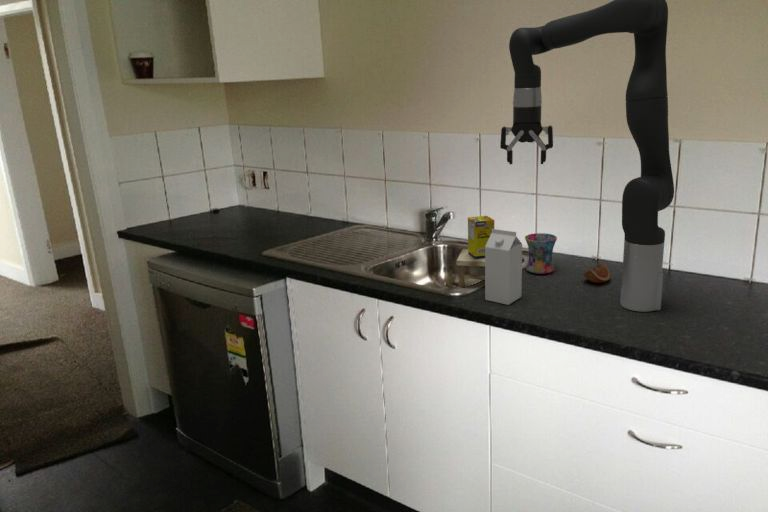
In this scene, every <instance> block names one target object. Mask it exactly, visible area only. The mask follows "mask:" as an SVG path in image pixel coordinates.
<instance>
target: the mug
mask: <svg viewBox="0 0 768 512" xmlns="http://www.w3.org/2000/svg"><path fill="white" fill-rule="evenodd" d="M524 240H525V241H526V244H527V248H528V261H527V264H526V266H525V270H526V271H527V272H529V273H532V274H536V275H537V274H538V275H544V274H550V273H552V272H554V271H555V269H556V268H555V266H554V262H553V252H554V246H555V245H556V242H557V240H558V237H557V236H556V235H555V234H552V233H545V232H544V233H543V232H541V233H540V232H539V233H530V234H527V235H525V237H524Z"/></svg>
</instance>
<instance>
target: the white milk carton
mask: <svg viewBox="0 0 768 512" xmlns="http://www.w3.org/2000/svg"><path fill="white" fill-rule="evenodd" d="M484 270H485V271H484V275H485V279H484V288H485V289H484V296H485V298H484V299H485V301H489V302H493V303H498V304H504V305H507V306H509V305H511V304H512V303H513V302H515V301H517V300H518V299H520V298H522V293H523V292H522V289H523V288H522V284H523V283H522V281H523V279H522V277H523V274H522V273H523V243H522V241H521V240H520V239H519V238H518V237H517V231H511V230H504V229H503V230H502V229H495V228H494V229H492V233H491V235H490V237H489V239H488V241H487V244H486V246H485V269H484Z"/></svg>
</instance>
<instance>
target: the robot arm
mask: <svg viewBox="0 0 768 512" xmlns="http://www.w3.org/2000/svg"><path fill="white" fill-rule="evenodd" d="M668 21H669V6H668V2H667V0H611V1H610V2H608V3H605V4H603V5H600V6H598V7H595V8H593V9H590V10H587V11H584V12H579V13H575V14H571V15H567V16H564V17H561V18H557V19H554V20H550V21H549V22H547V23H545V24H544V25H542V26H536V27H519V28H516V29H515V30H514V31H513V32H512V33H511V36H510V38H509V43H508V44H509V45H508V47H509V48H508V49H509V54H510V60H511V64H512V69H513V72H514V85H513V87H514V89H513V90H514V91H513V98H512V99H513V100H512V105H513V107H512V112H513V114H512V117H513V118H512V119H513V120H512V126H511V127H510V126H509V127H508V126H502V127H501V131H500V147H499V148H500V149H501V150H505V151H506V154H507V155H506V161H507V163H508V164H509V165H513V160H514V159H513V157H514V156H513V155H514V153H513V152H514V151H513V148H514V147H515V145H516V144H517V143H518V142H519V143H533V142H535V143H536V144H537V145H538V147H540V165H544V163H545V162H546V161H547V150H550V149H552V148H553V147H554V136H553V135H554V131H553V129H554V128H553V126H552V124H551V125H550V124H549V125H547V126H543V125H542V100H543V99H542V88H541V87H542V69H541V67H540V66H539V65H538V64H536V63H535V62H534V59H533V56H537V55H542V54H545V53H548V52H550V51H553V50H554V49H561V48H564V47H569V46H573V45H577V44H579V43H582V42H584V41H587V40H589V39H591V38H595V37H597V36H601V35H606V34H615V33H617V34H618V33H620V34H621V33H622V34H623V33H628V34H629V33H630V34H633V39H634V61H633V66H632V69H631V73H630V75H629V79H628V82H627V86H626V91H625V114H626V115H625V118H626V123H627V126H628V129H629V132H630V134H631V137H632V139H633V140H634V143H635V144H636V147H637V150H638V152H639V159H640V176H639V177H636V178H633V179H631V180H629V182H627V184H626V185H625V187H624V189H623V191H622V192H623V193H622V199H621V226H622V231H623V233H624V237H623V238H624V239H623V255H622V256H623V257H622V274H621V289H620V306H621V307H622V308H624V309H626V310H630V311H635V312H642V313H643V312H653V311H654V312H655V311H661V309H662V295H663V285H664V283H663V282H664V273H663V264H664V255H665V253H664V251H665V241H666V240H665V239H666V231H665V229H664V228H662V227H660V226H659V212H660V211H662V210H665V209H667V208H668V207H669V206H670V205H671V204H672V202H673V200H674V196H675V184H674V176H673V169H672V164H671V156H670V135H669V134H670V133H669V99H668V98H669V96H668V95H669V94H668V80H667V74H668V73H667V58H666V57H667V36H668V35H667V34H668V24H669V23H668ZM543 131H544V133H545V134H546V135H547V143H546V144H545V143H544V141H543V140H542V138H541V137H540V135H541V133H542V132H543ZM510 132H511V133H512V134H513V136H514V138H513V139H512V140H511V141H510V143H509V144H507V143H506V142H507V136H508V135H509V134H510Z"/></svg>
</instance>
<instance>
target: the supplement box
mask: <svg viewBox="0 0 768 512" xmlns="http://www.w3.org/2000/svg"><path fill="white" fill-rule="evenodd" d="M492 229H495V219H493V218H492V217H490V216H488V215H479V216H471V217H470V216H469V217H467V249H468V254H470V255H471V256H472V257H473V258H475V259H479V258H485V246H486V244H487V241H488V239H489V237H490V235H491V233H492Z"/></svg>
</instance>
